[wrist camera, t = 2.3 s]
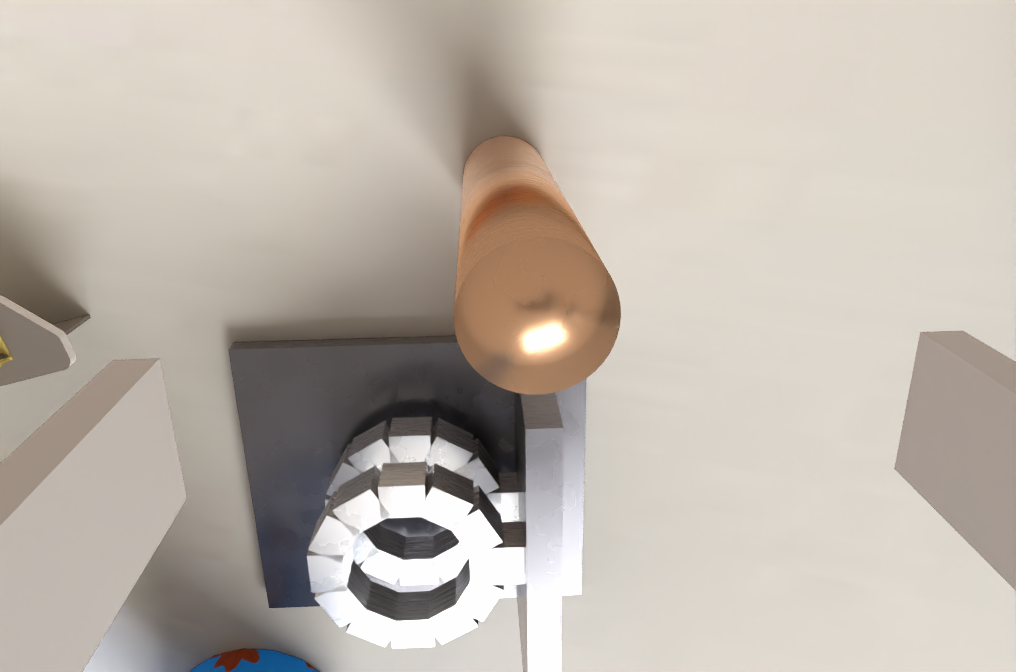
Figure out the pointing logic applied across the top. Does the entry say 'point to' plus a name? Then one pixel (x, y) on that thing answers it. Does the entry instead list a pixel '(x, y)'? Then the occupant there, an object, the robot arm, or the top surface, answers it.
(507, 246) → the copper tube
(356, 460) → the collar stand
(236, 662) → the thermos
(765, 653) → the top surface
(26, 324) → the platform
